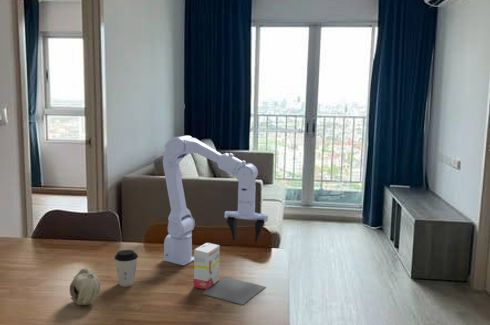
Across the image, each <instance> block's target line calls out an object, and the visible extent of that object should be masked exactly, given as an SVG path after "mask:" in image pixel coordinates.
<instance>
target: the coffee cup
mask: <svg viewBox="0 0 490 325" xmlns="http://www.w3.org/2000/svg"><path fill="white" fill-rule="evenodd" d="M138 257H139V256H138V254H137V253H136V252H135V250H132V249H123V250H119V251H118V252H117V253H116V254H115V256H114V260H115V266H116V273H117V281H118V284H119V286H120V287H124V288H125V287H126V288H127V287H130V286H133V285H135V281H136V280H135V279H136V273H137V272H136V271H137V262H138Z"/></svg>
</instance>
